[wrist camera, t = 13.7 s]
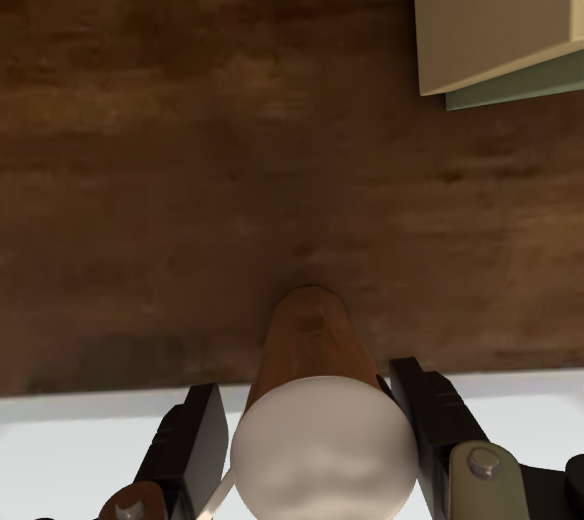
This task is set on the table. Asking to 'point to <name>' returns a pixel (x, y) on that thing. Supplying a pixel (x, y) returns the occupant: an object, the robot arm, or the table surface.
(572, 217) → the table surface
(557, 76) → the cabinet
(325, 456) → the milkshake
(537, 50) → the drawer
